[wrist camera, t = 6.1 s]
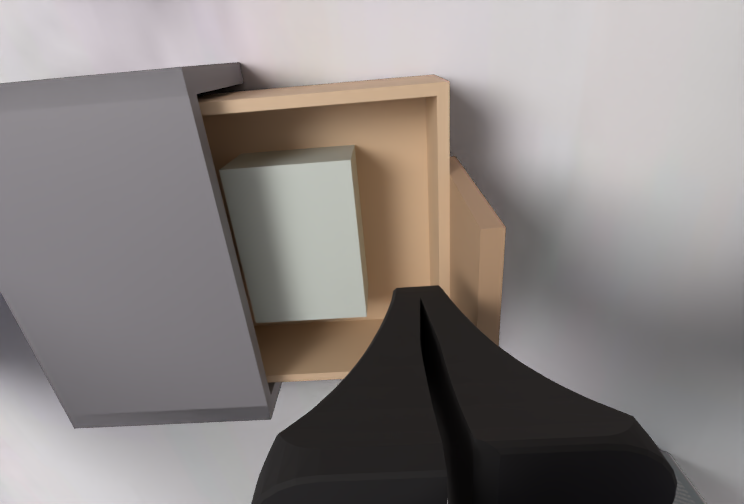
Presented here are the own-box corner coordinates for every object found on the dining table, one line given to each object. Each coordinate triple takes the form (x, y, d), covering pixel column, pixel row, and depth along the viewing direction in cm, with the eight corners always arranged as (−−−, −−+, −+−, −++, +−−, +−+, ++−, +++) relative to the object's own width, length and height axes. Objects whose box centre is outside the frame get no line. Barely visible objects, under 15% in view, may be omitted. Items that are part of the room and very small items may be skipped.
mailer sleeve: (139, 348, 24) (74, 428, 19) (31, 81, 18) (-108, 92, 13) (294, 339, 23) (271, 419, 18) (239, 62, 17) (181, 66, 12)
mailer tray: (236, 329, 23) (152, 489, 14) (173, 97, 18) (-13, 138, 9) (449, 316, 22) (490, 477, 14) (448, 73, 17) (514, 94, 9)
